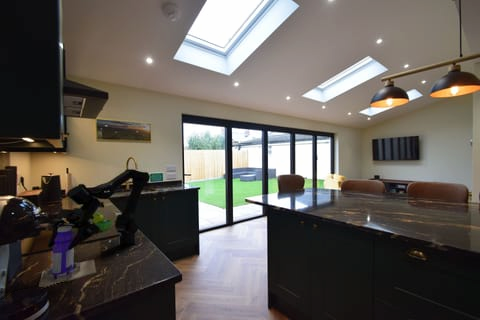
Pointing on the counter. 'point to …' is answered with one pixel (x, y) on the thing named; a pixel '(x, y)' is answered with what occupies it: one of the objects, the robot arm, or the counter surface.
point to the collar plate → (77, 272)
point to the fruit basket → (101, 222)
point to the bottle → (63, 252)
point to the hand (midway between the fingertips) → (58, 248)
